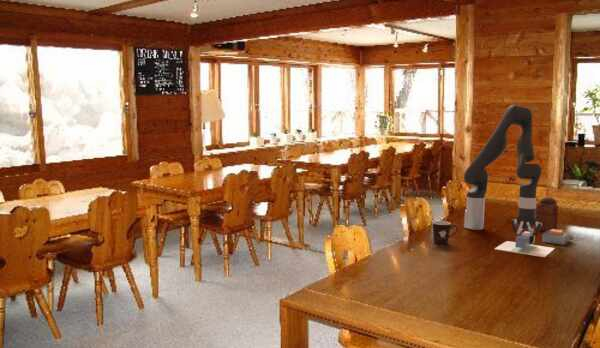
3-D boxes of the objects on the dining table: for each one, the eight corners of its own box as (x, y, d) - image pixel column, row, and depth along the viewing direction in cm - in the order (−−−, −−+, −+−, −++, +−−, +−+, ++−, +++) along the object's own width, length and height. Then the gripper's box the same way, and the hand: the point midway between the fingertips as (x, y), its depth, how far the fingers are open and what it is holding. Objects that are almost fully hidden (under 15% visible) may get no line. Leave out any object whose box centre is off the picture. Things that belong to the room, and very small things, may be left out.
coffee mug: (429, 244, 264) (430, 223, 262) (434, 240, 271) (434, 220, 270) (454, 246, 258) (454, 226, 257) (458, 242, 266) (458, 222, 265)
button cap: (549, 236, 268) (549, 230, 267) (551, 234, 271) (552, 228, 271) (560, 238, 264) (560, 232, 264) (562, 236, 268) (563, 230, 268)
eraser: (515, 247, 249) (515, 237, 249) (524, 240, 261) (525, 231, 261) (525, 248, 247) (526, 238, 246) (534, 241, 259) (535, 232, 258)
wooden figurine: (559, 230, 291) (561, 197, 288) (556, 233, 286) (558, 199, 283) (535, 227, 298) (537, 195, 295) (532, 229, 293) (534, 196, 290)
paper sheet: (494, 249, 254) (494, 248, 254) (506, 241, 268) (506, 240, 268) (544, 257, 241) (544, 256, 241) (554, 248, 255) (554, 247, 255)
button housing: (542, 241, 267) (542, 233, 267) (547, 237, 275) (547, 230, 275) (564, 245, 261) (564, 236, 261) (569, 240, 269) (569, 232, 269)
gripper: (545, 207, 250) (543, 243, 253) (513, 203, 259) (511, 239, 261) (541, 209, 244) (539, 246, 247) (508, 206, 253) (506, 242, 255)
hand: (525, 242), depth 254 cm, fingers closed on eraser, 4 cm apart
